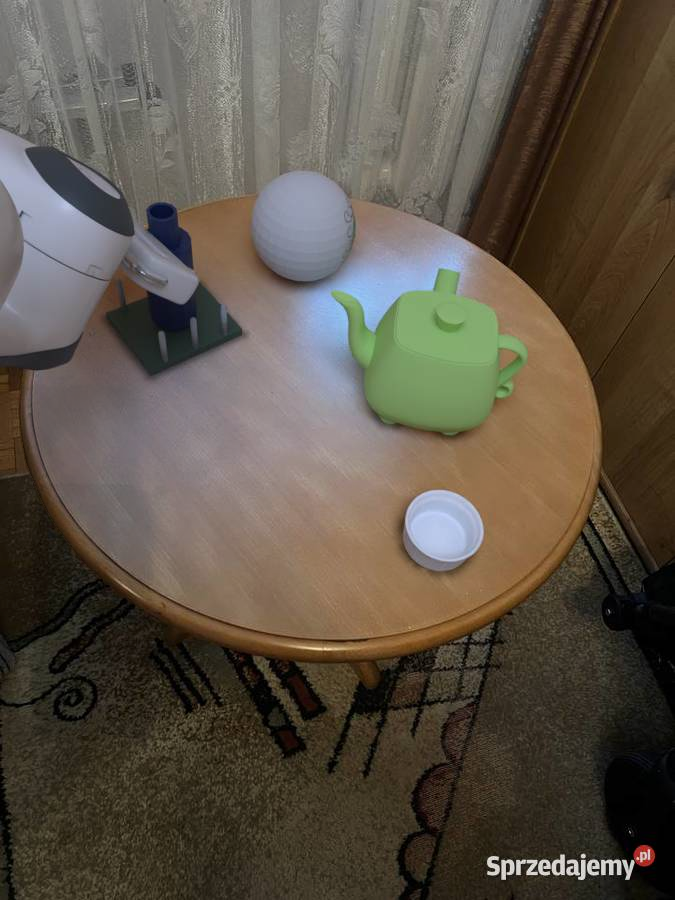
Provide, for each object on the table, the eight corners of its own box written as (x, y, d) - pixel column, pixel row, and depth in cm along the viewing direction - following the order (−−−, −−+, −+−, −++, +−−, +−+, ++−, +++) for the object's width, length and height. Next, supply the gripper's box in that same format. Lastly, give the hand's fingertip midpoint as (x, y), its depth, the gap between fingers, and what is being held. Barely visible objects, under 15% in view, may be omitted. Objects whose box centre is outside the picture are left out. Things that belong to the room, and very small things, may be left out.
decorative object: (344, 310, 95) (358, 223, 83) (242, 294, 95) (241, 205, 82) (352, 244, 104) (366, 157, 92) (258, 230, 103) (260, 140, 91)
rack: (150, 376, 84) (144, 342, 79) (106, 319, 89) (98, 283, 84) (242, 335, 90) (241, 300, 85) (196, 283, 95) (193, 247, 90)
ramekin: (485, 564, 75) (498, 547, 71) (416, 586, 72) (425, 570, 69) (452, 499, 79) (462, 481, 76) (386, 518, 77) (393, 500, 73)
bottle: (185, 335, 85) (174, 234, 72) (142, 322, 86) (124, 219, 73) (203, 306, 89) (197, 204, 76) (163, 293, 89) (149, 189, 76)
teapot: (500, 341, 96) (541, 254, 83) (500, 461, 83) (547, 381, 70) (333, 308, 95) (347, 216, 82) (308, 424, 83) (320, 336, 70)
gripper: (157, 248, 63) (238, 285, 76) (47, 145, 71) (138, 194, 83) (124, 301, 65) (208, 328, 77) (20, 195, 72) (113, 236, 85)
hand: (171, 258), depth 80 cm, fingers closed on bottle, 6 cm apart
